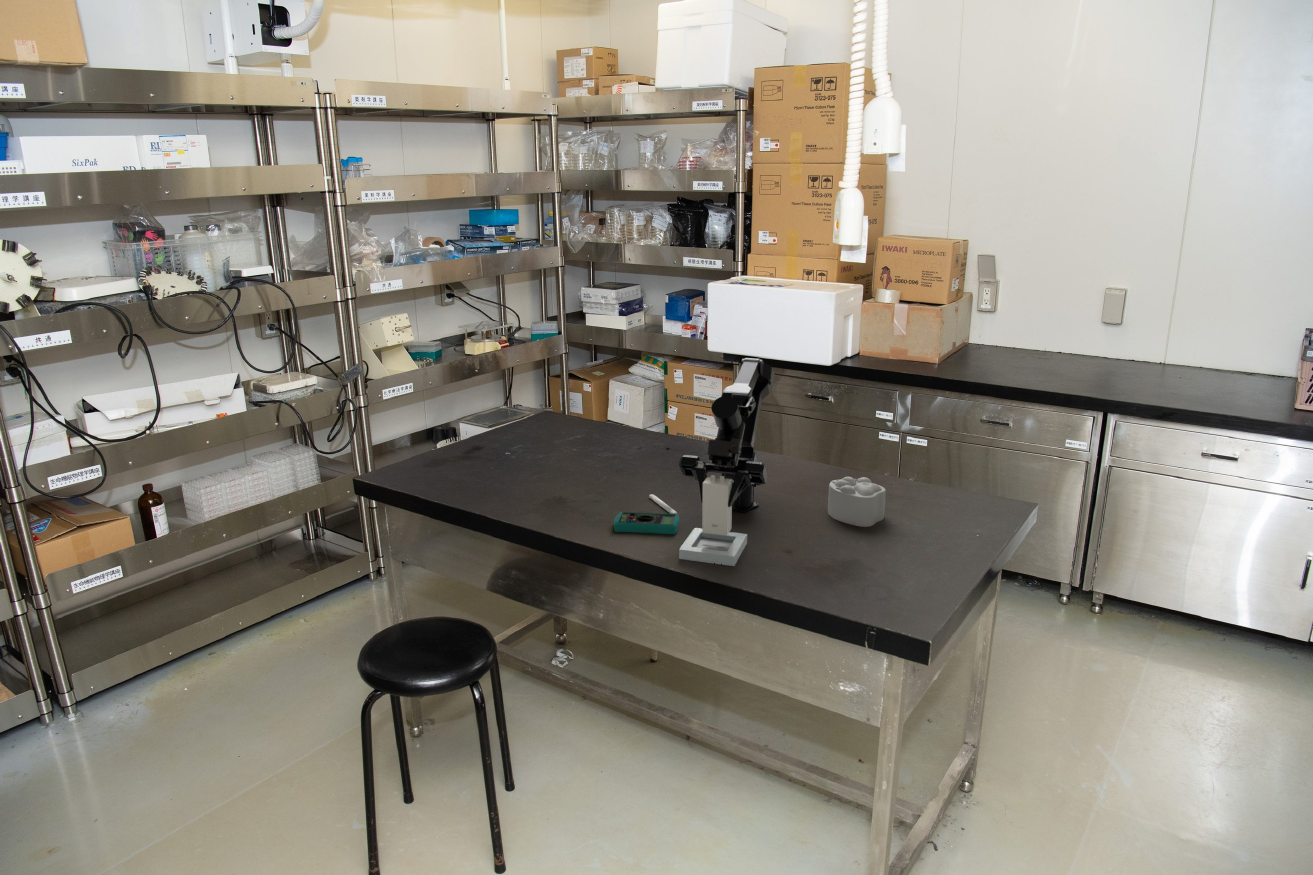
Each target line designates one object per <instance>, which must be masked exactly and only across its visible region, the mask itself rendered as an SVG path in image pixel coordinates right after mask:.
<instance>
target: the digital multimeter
mask: <svg viewBox="0 0 1313 875" xmlns="http://www.w3.org/2000/svg"><path fill="white" fill-rule="evenodd" d="M679 524H680V515H679V514H678V513H677V514H670V513H659V512H658V513H653V512H651V513H650V512H633V511H620V512H619V513H618V514H617V515H616V516H615V517H614V519H613V530H614V532H616V533H635V534H637V533H640V534H641V533H642V534H656V535H657V534H659V535H676V534H677V532H678V530H679Z"/></svg>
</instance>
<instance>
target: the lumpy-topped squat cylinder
mask: <svg viewBox="0 0 1313 875" xmlns="http://www.w3.org/2000/svg"><path fill="white" fill-rule="evenodd" d="M886 494H887V490H886V488H885V487H884V486H882V485H879V484H877V483H873V482H872V480H871V479H870V478H868V477H866V476H865V477H864V476H863V477H859V478H854V477H852V476H845V477H843V478H841V479H839V478H837V479H835V480H833V479H832V480H831V481H830V483H829V484H828V501H827V514H828V516H830V517H831V518H833V519H834V520H835V521H836V520H837V521H839V522H842V523H843V524H848V525H852V526H857V527H861V528H863V527H864V528H868V527H871V526H874V525H875V524H876V523H878V522H880V521H883V520H884V518H885V508H886Z"/></svg>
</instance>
